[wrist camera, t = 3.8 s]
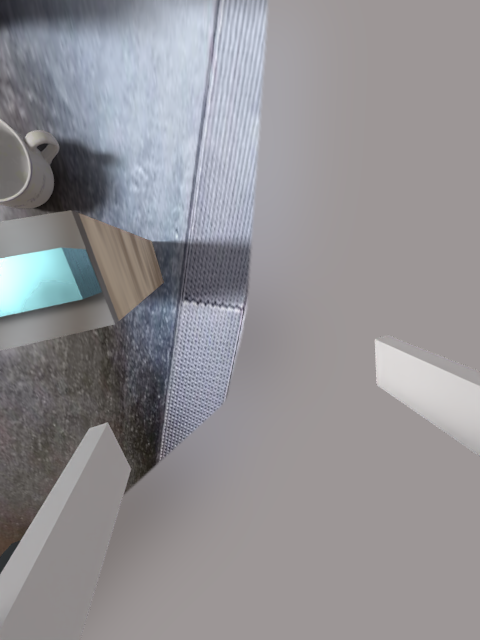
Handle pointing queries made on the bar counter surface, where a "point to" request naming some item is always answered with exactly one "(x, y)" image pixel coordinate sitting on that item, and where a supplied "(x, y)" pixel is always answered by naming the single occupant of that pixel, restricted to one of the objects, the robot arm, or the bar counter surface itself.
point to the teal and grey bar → (45, 279)
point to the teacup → (25, 167)
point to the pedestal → (109, 266)
